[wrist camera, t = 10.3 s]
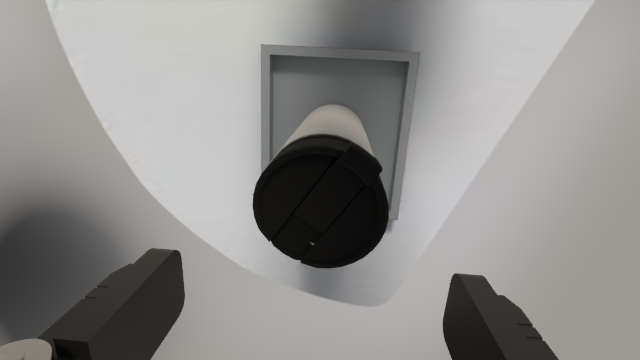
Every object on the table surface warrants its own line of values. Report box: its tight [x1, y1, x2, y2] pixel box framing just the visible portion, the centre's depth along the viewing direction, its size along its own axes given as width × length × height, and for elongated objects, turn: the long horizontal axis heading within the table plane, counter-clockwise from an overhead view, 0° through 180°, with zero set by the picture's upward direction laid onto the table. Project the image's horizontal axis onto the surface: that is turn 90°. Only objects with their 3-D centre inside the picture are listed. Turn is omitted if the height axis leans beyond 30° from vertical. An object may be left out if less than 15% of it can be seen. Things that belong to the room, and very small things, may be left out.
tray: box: [261, 44, 420, 220], centre depth 33 cm, size 16×14×2 cm
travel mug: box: [253, 104, 389, 268], centre depth 24 cm, size 6×7×20 cm
